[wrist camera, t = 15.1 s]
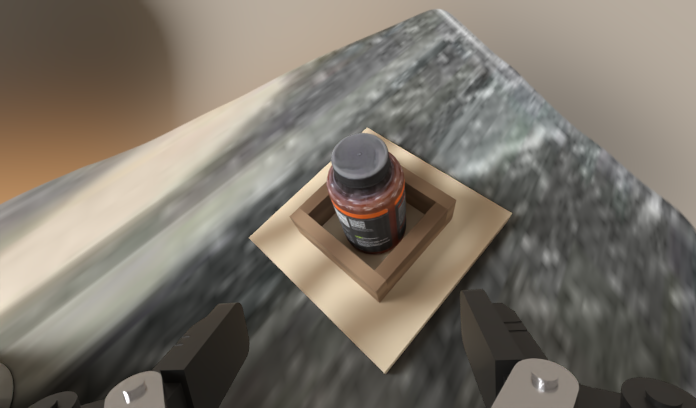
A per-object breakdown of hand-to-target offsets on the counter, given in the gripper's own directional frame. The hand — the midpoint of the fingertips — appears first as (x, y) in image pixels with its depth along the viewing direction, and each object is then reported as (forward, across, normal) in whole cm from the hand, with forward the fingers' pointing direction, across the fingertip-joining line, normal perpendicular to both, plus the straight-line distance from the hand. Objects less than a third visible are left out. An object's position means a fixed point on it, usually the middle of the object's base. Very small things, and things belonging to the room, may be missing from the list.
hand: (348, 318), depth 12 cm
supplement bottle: (+20, 0, +3) cm, 21 cm away
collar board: (+21, 0, +4) cm, 22 cm away
